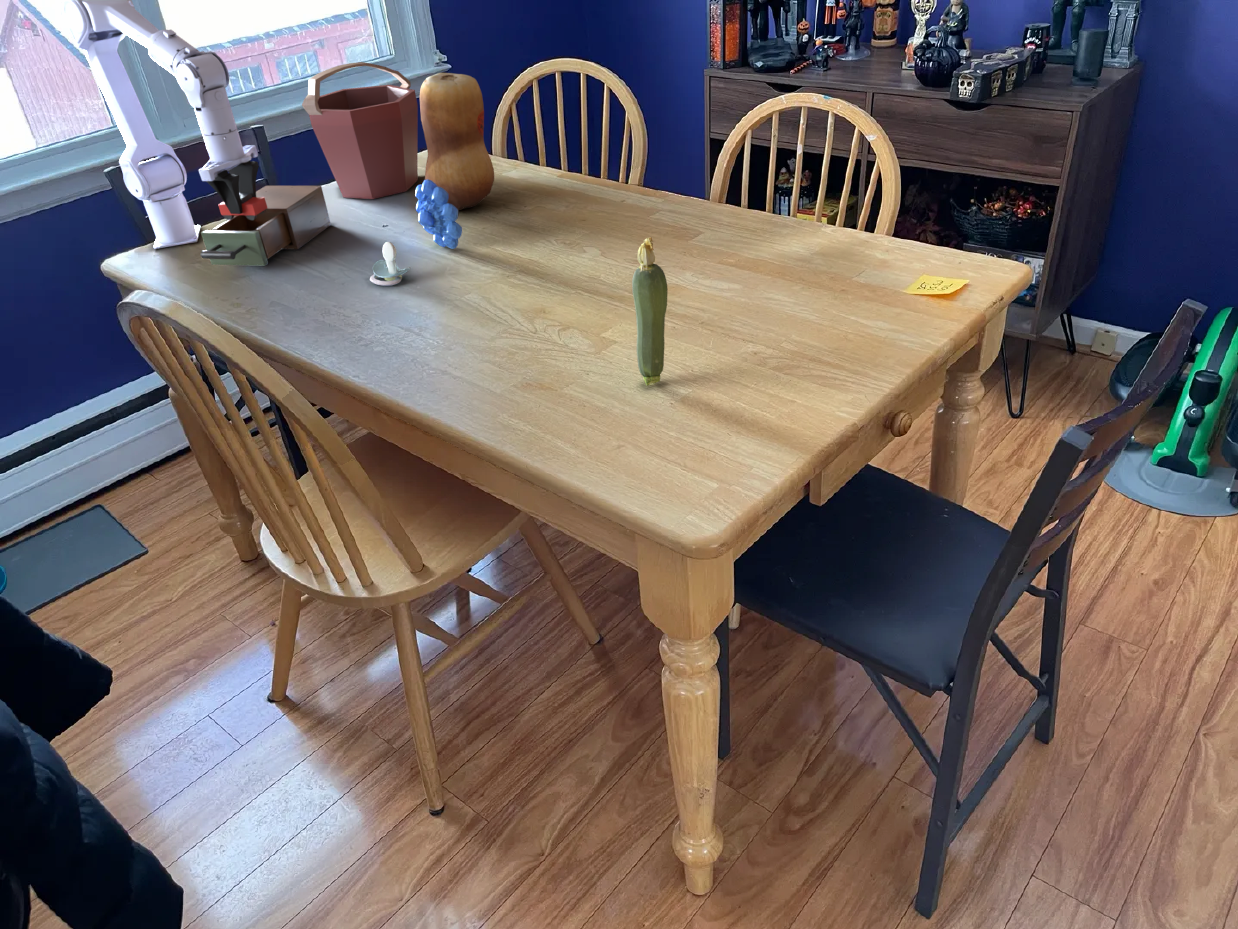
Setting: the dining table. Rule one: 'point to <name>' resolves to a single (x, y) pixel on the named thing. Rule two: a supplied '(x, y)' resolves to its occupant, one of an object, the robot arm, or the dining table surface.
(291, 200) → the cabinet
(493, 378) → the dining table surface
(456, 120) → the butternut squash
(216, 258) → the drawer
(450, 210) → the grapes
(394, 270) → the pacifier
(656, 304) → the vegetable
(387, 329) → the dining table surface
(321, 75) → the bucket
